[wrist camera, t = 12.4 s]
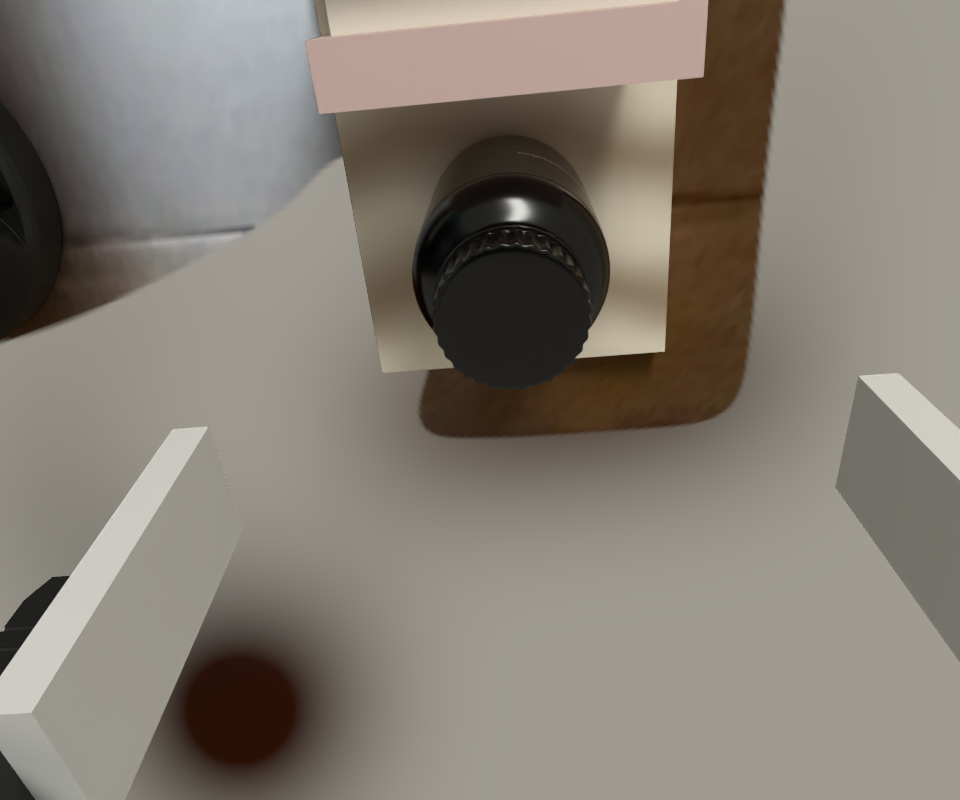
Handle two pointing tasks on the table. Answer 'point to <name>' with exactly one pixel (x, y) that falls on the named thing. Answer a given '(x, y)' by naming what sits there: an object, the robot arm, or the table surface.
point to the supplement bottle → (510, 263)
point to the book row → (498, 48)
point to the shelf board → (566, 128)
